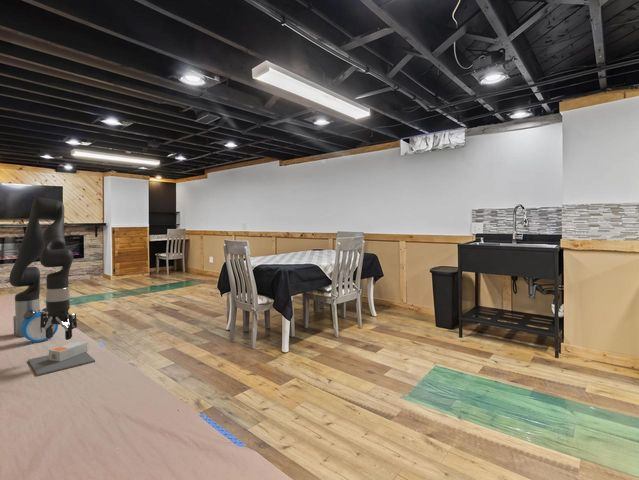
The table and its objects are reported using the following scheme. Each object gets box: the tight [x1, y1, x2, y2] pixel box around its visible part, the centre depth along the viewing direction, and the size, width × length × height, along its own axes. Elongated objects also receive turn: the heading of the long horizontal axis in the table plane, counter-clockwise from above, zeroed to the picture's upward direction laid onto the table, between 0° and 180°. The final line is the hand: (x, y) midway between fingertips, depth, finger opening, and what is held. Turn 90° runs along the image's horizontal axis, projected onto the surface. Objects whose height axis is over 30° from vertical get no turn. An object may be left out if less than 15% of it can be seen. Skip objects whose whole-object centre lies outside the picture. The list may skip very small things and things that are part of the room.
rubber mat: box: [28, 351, 96, 377], centre depth 138 cm, size 20×18×1 cm
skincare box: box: [48, 340, 89, 362], centre depth 142 cm, size 6×4×12 cm
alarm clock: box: [20, 307, 59, 344], centre depth 162 cm, size 13×6×15 cm, turn 143°
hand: (58, 338), depth 139 cm, fingers open, 8 cm apart
